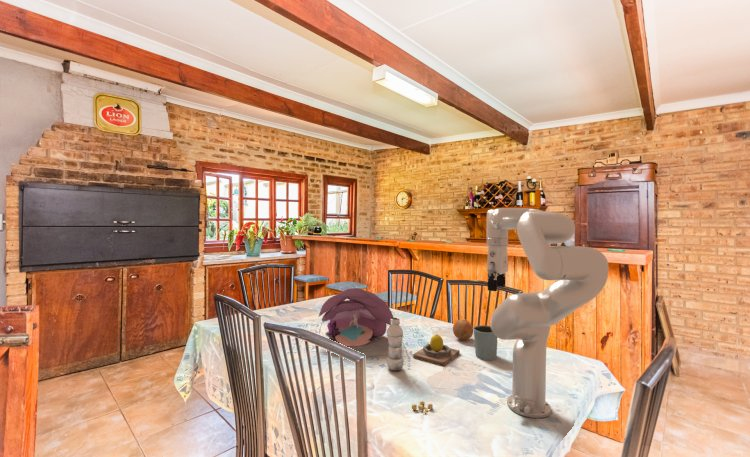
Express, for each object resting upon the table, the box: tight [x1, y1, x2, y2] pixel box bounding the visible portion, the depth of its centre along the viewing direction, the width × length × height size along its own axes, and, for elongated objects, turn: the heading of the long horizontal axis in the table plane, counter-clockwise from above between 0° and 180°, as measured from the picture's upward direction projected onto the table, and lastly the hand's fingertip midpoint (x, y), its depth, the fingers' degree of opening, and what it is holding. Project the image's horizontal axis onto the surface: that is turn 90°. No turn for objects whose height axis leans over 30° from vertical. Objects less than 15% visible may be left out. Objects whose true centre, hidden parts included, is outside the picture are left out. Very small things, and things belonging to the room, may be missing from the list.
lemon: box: [429, 333, 444, 352], centre depth 151 cm, size 6×6×8 cm
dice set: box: [411, 400, 434, 414], centre depth 109 cm, size 5×5×2 cm
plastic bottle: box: [386, 317, 404, 372], centre depth 137 cm, size 6×7×20 cm
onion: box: [452, 318, 474, 341], centre depth 171 cm, size 10×10×10 cm
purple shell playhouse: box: [318, 287, 395, 347], centre depth 172 cm, size 35×24×28 cm
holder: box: [412, 343, 461, 367], centre depth 151 cm, size 16×14×3 cm
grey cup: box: [473, 325, 499, 361], centre depth 150 cm, size 10×10×12 cm
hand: (496, 288), depth 130 cm, fingers open, 9 cm apart
